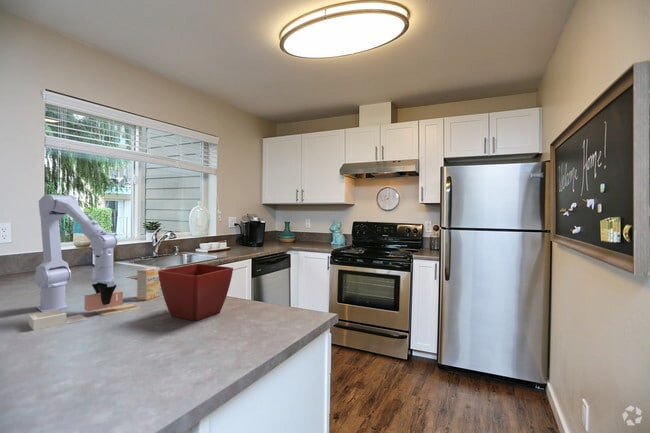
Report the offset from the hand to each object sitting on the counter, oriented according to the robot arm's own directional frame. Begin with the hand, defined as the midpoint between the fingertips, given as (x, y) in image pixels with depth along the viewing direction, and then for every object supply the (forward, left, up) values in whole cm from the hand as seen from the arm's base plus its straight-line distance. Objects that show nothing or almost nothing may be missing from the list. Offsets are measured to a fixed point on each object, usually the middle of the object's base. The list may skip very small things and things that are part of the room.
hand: (104, 303), depth 119 cm
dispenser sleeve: (0, -11, -4) cm, 11 cm away
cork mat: (0, +4, -4) cm, 6 cm away
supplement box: (-9, +19, -4) cm, 22 cm away
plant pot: (+27, +21, -4) cm, 35 cm away
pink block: (0, 0, -1) cm, 1 cm away
